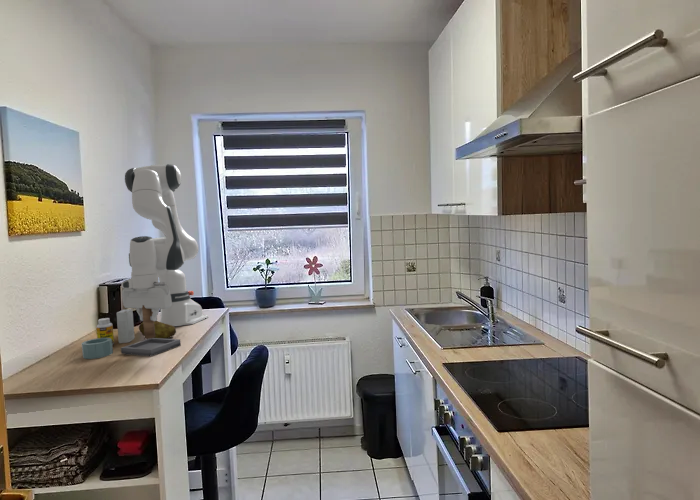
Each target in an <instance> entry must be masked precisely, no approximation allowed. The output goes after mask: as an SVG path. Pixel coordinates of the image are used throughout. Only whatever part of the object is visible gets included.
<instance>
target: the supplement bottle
mask: <svg viewBox="0 0 700 500" xmlns="http://www.w3.org/2000/svg"><path fill="white" fill-rule="evenodd" d="M97 321H98V322H97V325H96V327H95V328H96V337H97V338H111V339H112V346H113V345H114V344H115V338H114V325H113V323H112V322H111V321H110V317H105V318H104V317H103V318H99V319H98V320H97ZM97 338H96V339H97Z"/></svg>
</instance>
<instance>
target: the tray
mask: <svg viewBox="0 0 700 500" xmlns="http://www.w3.org/2000/svg"><path fill="white" fill-rule="evenodd" d="M181 345H182V344H181V339H178V338H177V339H176V338H167V339H163V338H150V339H144V340H140V341H138V342H135V343H131V344H129V345H126V346H122V347H120V353H121V355H133V356H145V357H153V356H156V355H159V354H161V353H164V352H167V351H169V350H172V349H175V348H178V347H180V346H181Z"/></svg>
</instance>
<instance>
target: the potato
mask: <svg viewBox="0 0 700 500" xmlns="http://www.w3.org/2000/svg"><path fill="white" fill-rule="evenodd" d="M154 326H155V337H154V338H163V339H171V338H172V337H174V336H175V335H176V333H177V329H176V326H172V325H169V324H164V323H161V322H160V321H158V320H157V321H154ZM138 330H139V332H140V333H141V335H142V336H144V326H143V321H141V323H140V324H139V326H138Z"/></svg>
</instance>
